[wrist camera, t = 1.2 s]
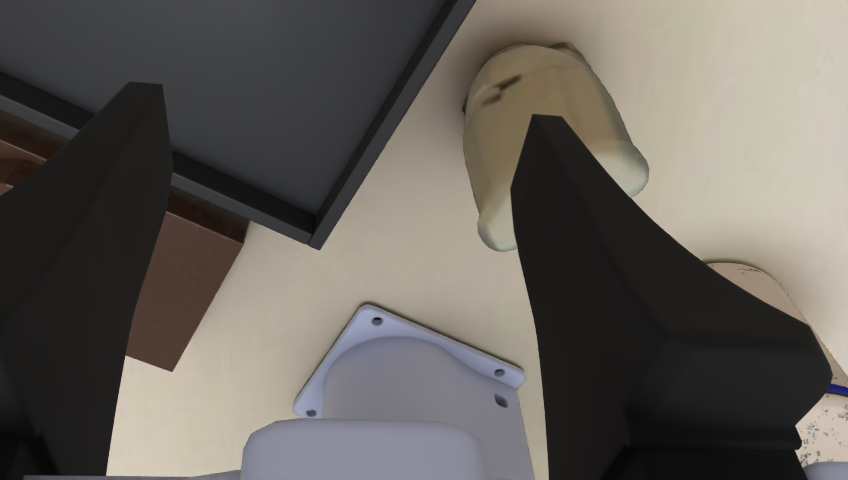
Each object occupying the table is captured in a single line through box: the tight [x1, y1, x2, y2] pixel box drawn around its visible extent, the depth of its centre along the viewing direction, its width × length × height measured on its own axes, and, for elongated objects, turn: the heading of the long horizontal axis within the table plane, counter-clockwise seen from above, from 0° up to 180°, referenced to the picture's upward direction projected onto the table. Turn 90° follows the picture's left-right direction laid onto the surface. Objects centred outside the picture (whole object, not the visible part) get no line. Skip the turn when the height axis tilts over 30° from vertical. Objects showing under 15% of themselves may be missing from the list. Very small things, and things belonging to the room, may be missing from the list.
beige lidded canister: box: [707, 263, 848, 468], centre depth 33 cm, size 12×9×12 cm
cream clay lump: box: [462, 43, 649, 252], centre depth 27 cm, size 6×5×8 cm
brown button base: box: [0, 109, 250, 372], centre depth 31 cm, size 11×8×4 cm
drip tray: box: [0, 0, 476, 250], centre depth 26 cm, size 17×12×2 cm
